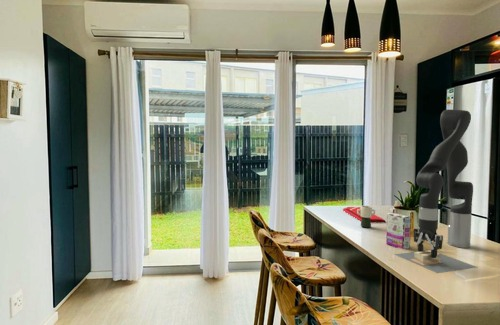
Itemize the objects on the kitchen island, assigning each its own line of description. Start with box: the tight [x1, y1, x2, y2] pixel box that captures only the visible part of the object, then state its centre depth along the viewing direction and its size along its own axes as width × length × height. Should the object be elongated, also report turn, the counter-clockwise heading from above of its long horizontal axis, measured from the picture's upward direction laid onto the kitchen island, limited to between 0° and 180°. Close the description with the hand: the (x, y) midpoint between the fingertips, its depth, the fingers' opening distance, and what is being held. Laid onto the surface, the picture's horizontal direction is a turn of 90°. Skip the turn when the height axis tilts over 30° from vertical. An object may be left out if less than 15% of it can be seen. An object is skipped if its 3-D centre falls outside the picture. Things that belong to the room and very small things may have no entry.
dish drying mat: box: [342, 206, 387, 223], centre depth 243 cm, size 16×41×4 cm, turn 3°
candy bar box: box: [386, 212, 412, 250], centre depth 170 cm, size 11×5×16 cm, turn 23°
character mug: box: [357, 205, 376, 228], centre depth 211 cm, size 11×7×13 cm, turn 82°
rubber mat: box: [394, 249, 478, 274], centre depth 149 cm, size 24×22×1 cm
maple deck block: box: [413, 249, 440, 264], centre depth 147 cm, size 9×5×4 cm, turn 108°
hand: (426, 255), depth 147 cm, fingers open, 6 cm apart
